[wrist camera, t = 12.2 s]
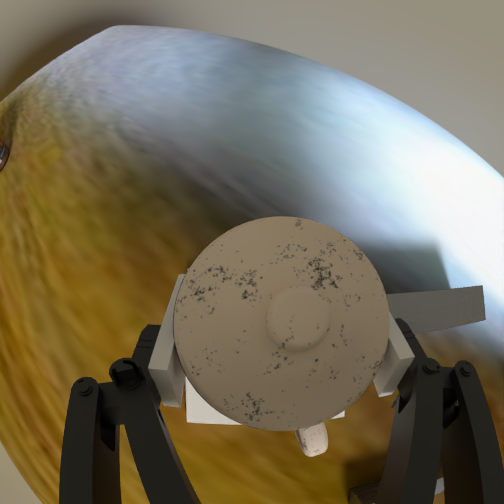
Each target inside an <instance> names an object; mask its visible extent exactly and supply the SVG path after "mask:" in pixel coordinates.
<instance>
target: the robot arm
mask: <svg viewBox="0 0 504 504" xmlns="http://www.w3.org/2000/svg"><path fill="white" fill-rule="evenodd" d="M185 275H186V274H179V276H178V279H177V282H176V285H175V287H174V290H173V293H172V296H171V299H170V302H169V305H168V307H167V310H166V313H165V316H164V319H163V322H162V325H150V324H148V325H147V326H146V327H145V328H144V329H143V330H142V332H141V334H140V337H139V341H138V342H137V345H136V347H135V350H134V353H133V355H132V358H121V359H119V360H116V361H115V362H114V363H113V364H112V365H111V367H110V369H109V375H110V377H111V379H112V380H113V382H107V383H99V384H98V383H97V381H96V380H95V379H93V378H91V377H82V378H80V379H78V380H77V381H76V382H75V383H74V384H73V386H72V389H71V394H70V399H69V404H68V410H67V416H66V422H65V429H64V437H63V445H62V455H61V467H60V485H59V504H122V503H121V488H120V462H119V435H120V425H121V424H124V425H125V429H126V433H127V437H128V440H129V444H130V447H131V451H132V454H133V457H134V460H135V463H136V467H137V470H138V472H139V475H140V478H141V481H142V484H143V486H144V489H145V492H146V494H147V497H148V499H149V502H150V504H201V502H200V500H199V499H198V497H197V495H196V493H195V491H194V489H193V487H192V485H191V483H190V480H189V478H188V476H187V474H186V472H185V470H184V468H183V465H182V463H181V461H180V459H179V456H178V454H177V452H176V449H175V447H174V444H173V442H172V439H171V437H170V434H169V432H168V429H167V427H166V424H165V421H164V419H163V416H162V413H161V411H160V408H159V407H160V402H161V401H162V403H163V405H164V406H173V407H180V406H181V400H182V394H183V388H184V383H185V377H186V375H185V373H184V371H183V369H182V367H181V365H180V362H179V359H178V356H177V353H176V348H175V339H174V336H173V313H174V306H175V301H176V297H177V294H178V291H179V288H180V285H181V283H182V281H183V278H184V276H185ZM389 317H390V330H389V339H388V344H387V349H386V352H385V355H384V359H383V361H382V364H381V366H380V368H379V370H378V372H377V374H376V376H375V378H374V379H373V382H374V385H375V388H376V390H377V393H378V396H379V397H381V396H386V395H391V394H393V393H394V391H395V390H396V388H397V387H398V390H399V392H400V393H399V395H398V396H397V398H396V399H395V400H394V402H393V403H392V406H391V407H392V408H393V407H394V405H395V404H396V408H395V414H394V421H393V427H392V433H391V438H390V443H389V448H388V453H387V457H386V462H385V466H384V470H383V474H382V478H381V481H380V485H379V489H378V492H377V495H376V499H375V502H374V504H433V501H434V495H435V490H436V484H437V478H438V470H439V462H440V453H441V461H442V470H443V480H444V494H445V504H504V468H503V463H502V457H501V452H500V448H499V443H498V439H497V435H496V431H495V427H494V423H493V420H492V416H491V413H490V410H489V406H488V403H487V400H486V397H485V394H484V391H483V388H482V386H481V383H480V380H479V377H478V375H477V372H476V369H475V368H474V366H473V365H472V364H471V363H470V362H467V361H463V360H462V361H458V362H457V363H456V365H455V366H454V368H452V367H441V366H440V364H439V363H438V362H437V361H435V360H434V359H431V358H427V356H426V354H425V352H424V351H423V349H422V347H421V345H420V344H419V342H418V340H417V339H416V338H415V335H414V334H413V332H412V330H411V329H410V327H409V325H408V324H407V323H406V322H405V321H404V320H402V319H401V318H396V319H394V318H393V317H392V315H391V313H390V312H389ZM457 400H458V403H457ZM458 404H459V405H458Z"/></svg>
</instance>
